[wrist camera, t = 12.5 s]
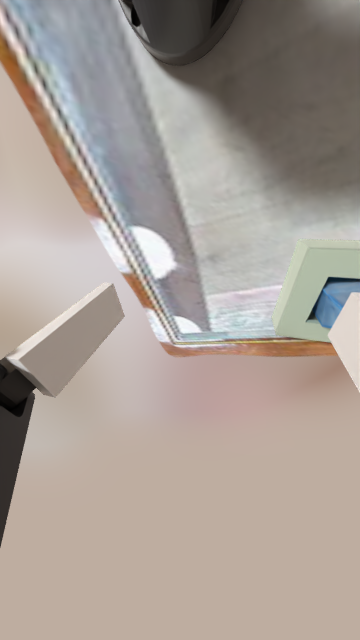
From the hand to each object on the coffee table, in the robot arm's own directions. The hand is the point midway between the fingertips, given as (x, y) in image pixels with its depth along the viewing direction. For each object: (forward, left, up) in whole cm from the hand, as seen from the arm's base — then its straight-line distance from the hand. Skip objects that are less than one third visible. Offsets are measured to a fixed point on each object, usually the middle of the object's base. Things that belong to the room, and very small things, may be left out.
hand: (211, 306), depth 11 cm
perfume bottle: (+10, +19, -25) cm, 33 cm away
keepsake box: (+9, +19, -26) cm, 34 cm away
